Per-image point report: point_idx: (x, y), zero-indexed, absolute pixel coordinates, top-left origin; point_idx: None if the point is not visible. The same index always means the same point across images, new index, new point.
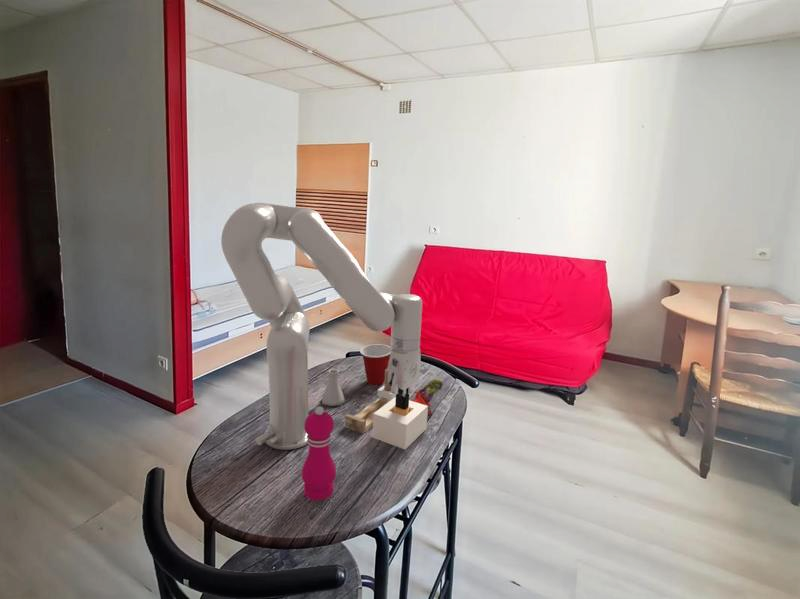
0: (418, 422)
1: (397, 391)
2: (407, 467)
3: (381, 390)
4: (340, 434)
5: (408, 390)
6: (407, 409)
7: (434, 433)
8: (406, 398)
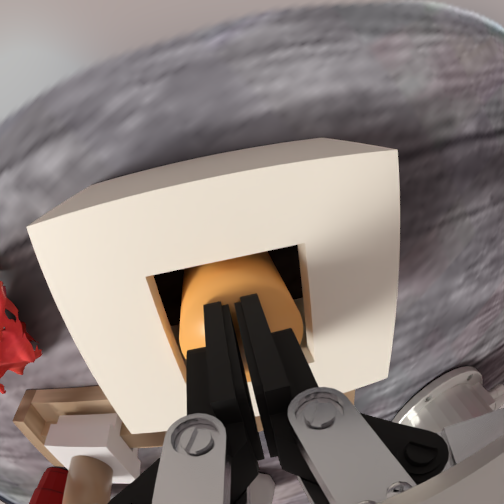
0: (185, 172)
1: (473, 441)
2: (405, 64)
3: (129, 475)
4: None
5: (226, 451)
6: (235, 286)
7: (91, 127)
8: (278, 365)
